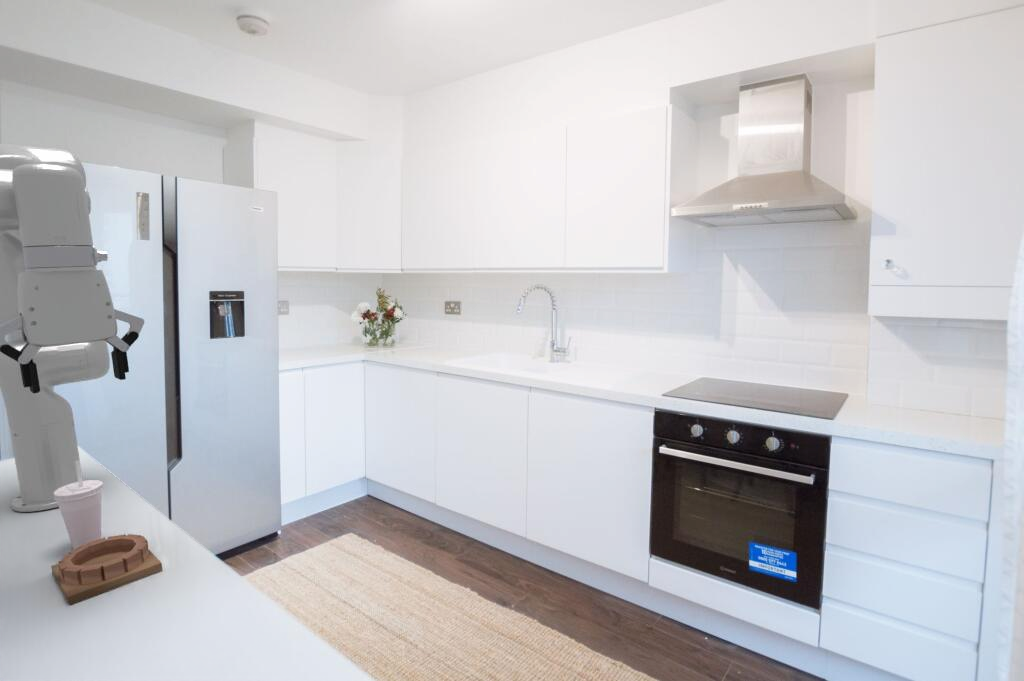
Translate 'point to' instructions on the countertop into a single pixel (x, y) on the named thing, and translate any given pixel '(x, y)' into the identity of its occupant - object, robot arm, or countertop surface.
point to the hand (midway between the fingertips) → (79, 384)
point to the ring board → (104, 566)
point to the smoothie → (81, 509)
